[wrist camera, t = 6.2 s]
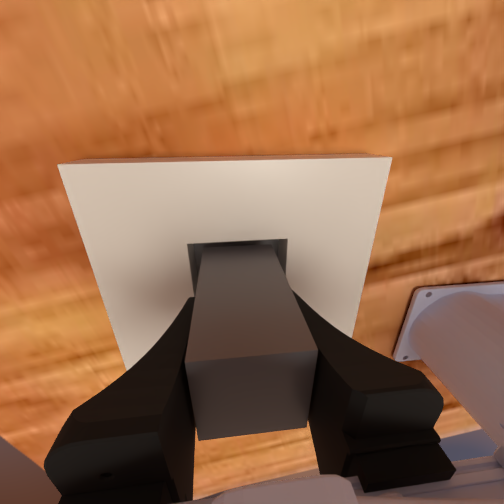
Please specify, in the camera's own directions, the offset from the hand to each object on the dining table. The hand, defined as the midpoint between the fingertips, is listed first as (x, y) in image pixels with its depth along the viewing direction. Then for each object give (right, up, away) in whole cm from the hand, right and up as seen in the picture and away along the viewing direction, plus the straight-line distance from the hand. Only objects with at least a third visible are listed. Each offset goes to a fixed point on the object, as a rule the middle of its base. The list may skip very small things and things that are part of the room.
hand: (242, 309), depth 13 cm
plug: (0, +2, +3) cm, 3 cm away
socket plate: (-1, +2, +4) cm, 5 cm away
